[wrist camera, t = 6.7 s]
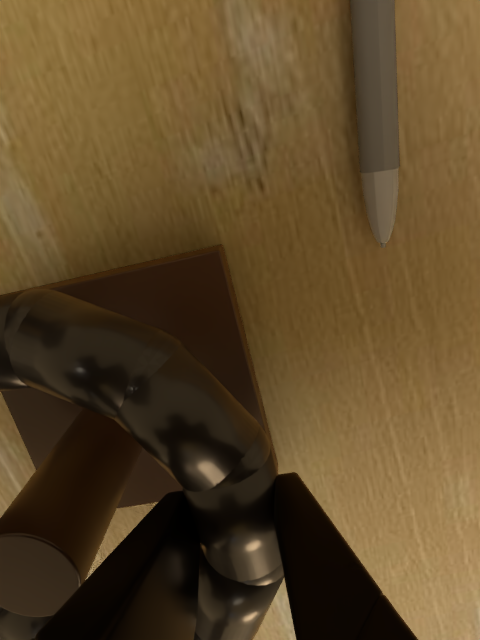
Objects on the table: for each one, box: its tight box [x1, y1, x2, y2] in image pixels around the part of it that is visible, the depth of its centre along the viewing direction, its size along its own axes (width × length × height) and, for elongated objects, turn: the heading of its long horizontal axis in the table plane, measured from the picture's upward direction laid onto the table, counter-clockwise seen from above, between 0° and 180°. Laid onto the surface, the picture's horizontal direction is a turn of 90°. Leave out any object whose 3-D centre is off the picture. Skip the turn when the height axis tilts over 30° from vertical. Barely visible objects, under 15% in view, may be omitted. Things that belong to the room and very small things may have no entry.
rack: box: [0, 245, 278, 617], centre depth 12 cm, size 8×8×8 cm
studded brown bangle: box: [0, 289, 284, 640], centre depth 10 cm, size 10×10×2 cm
